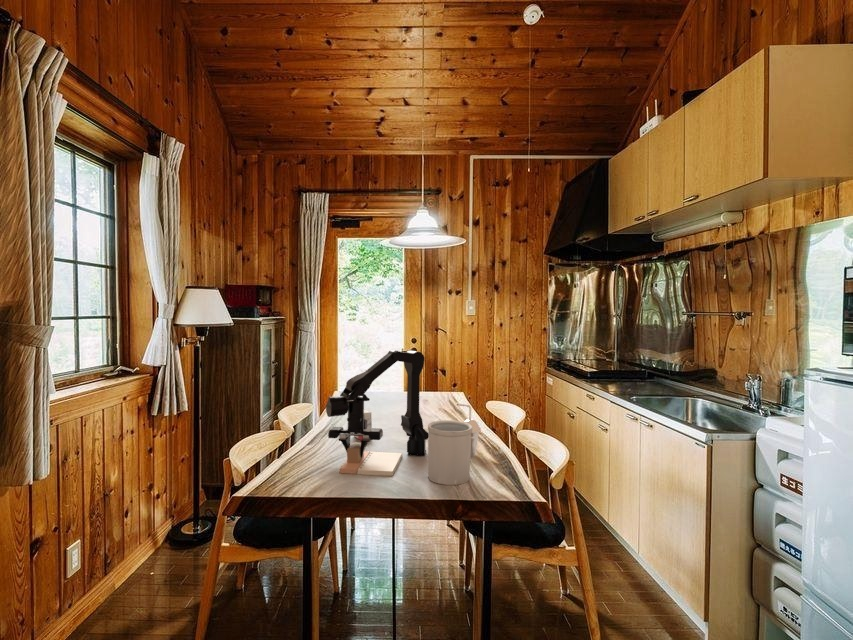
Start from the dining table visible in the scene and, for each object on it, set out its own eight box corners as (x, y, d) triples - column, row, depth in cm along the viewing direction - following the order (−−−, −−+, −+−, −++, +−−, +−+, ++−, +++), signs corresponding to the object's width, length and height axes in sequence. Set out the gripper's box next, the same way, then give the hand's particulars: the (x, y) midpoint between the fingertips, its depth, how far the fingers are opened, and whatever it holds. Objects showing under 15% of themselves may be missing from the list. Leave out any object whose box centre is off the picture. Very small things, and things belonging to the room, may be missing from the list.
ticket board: (402, 457, 176) (402, 452, 176) (392, 475, 156) (392, 471, 156) (370, 455, 177) (370, 451, 177) (357, 474, 157) (357, 469, 157)
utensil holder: (474, 472, 161) (474, 421, 160) (468, 488, 146) (469, 432, 146) (432, 468, 164) (433, 418, 164) (422, 483, 150) (423, 429, 149)
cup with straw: (478, 459, 174) (479, 406, 173) (454, 457, 177) (455, 404, 176) (482, 452, 182) (483, 401, 182) (459, 450, 185) (460, 400, 184)
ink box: (372, 439, 199) (372, 412, 199) (361, 441, 196) (361, 413, 196) (363, 434, 206) (363, 408, 206) (352, 436, 203) (353, 409, 203)
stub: (370, 455, 177) (370, 438, 177) (356, 473, 157) (356, 454, 157) (354, 454, 178) (354, 437, 178) (339, 472, 158) (339, 453, 158)
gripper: (385, 409, 174) (385, 451, 175) (337, 408, 176) (337, 449, 177) (379, 416, 163) (379, 460, 164) (327, 414, 165) (327, 458, 166)
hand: (355, 457), depth 168 cm, fingers closed on stub, 4 cm apart
